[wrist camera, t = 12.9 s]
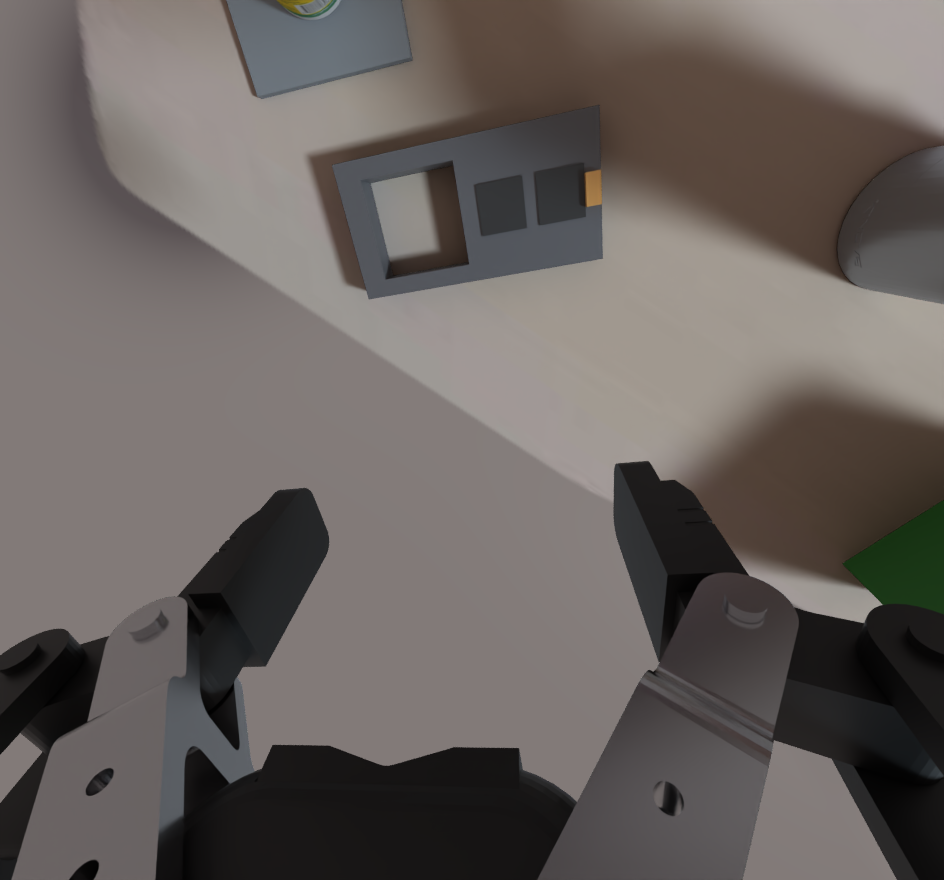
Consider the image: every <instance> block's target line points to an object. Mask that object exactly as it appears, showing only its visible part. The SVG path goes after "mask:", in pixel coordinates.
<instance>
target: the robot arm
mask: <svg viewBox="0 0 944 880" xmlns="http://www.w3.org/2000/svg"><path fill="white" fill-rule="evenodd" d="M837 251H838V259H839V264H840V266H841V268H842V271H843V273H844V274H845V275H846V277H847V278H848V279H849V280H850V281H851V282H853V283H854V284H856V285H857V286H859V287H861V288H865V289H868V290H872V291H878V292H883V293H888V294H894V295H899V296H904V297H909V298H913V299H918V300H924V301H929V302H934V303H940V304H944V146H938V147H933V148H927V149H923V150H920V151H918V152H915V153H912V154H910V155H907V156H905V157H904V158H902V159H900V160H898V161H897V162H895V163H893V164H892V165H890V166H889V167H888V168H886V169H885V170H884V171H882V172H881V173H880V174H879V175H877V176H876V177H875V178H874V179H873V180H872V181H871V182H870V183H869V184H868V185H867V186H866V187H865V188H864V189H863V191H862V192H861V193H860V195H859V196H858V197H857V199H856V200H855V202H854V203H853V204H852V206H851V208H850V210H849V212H848V213H847V215H846V217H845V219H844V221H843V225H842V228H841V231H840V234H839V240H838V248H837ZM614 526H615V531H616V536H617V540H618V543H619V546H620V549H621V552H622V555H623V558H624V561H625V564H626V567H627V570H628V572H629V575H630V578H631V582H632V584H633V587H634V590H635V593H636V596H637V599H638V602H639V605H640V608H641V611H642V614H643V616H644V620H645V623H646V626H647V629H648V631H649V635H650V637H651V641H652V644H653V647H654V650H655V652H656V655H657V658H658V661H659V662H660V663H659V665H658V667H657V668H656V670H655V671H654V672H652V671H651V670H648V671H647V672H646V673H645V674H644V675H643V677H642V678H641V680H640V682H639V683H638V685H637V687H636V689H635V691H634V693H633V695H632V696H631V699H630V701H629V702H628V704H627V706H626V708H625V711H624V712H623V714H622V716H621V718H620V720H619V722H618V724H617V726H616V728H615V730H614V732H613V734H612V736H611V737H610V739H609V741H608V743H607V745H606V747H605V749H604V751H603V753H602V755H601V757H600V759H599V761H598V763H597V765H596V767H595V768H594V770H593V772H592V774H591V776H590V778H589V780H588V782H587V784H586V786H585V788H584V790H583V792H582V794H581V796H580V798H579V800H578V802H576V801H575V800H574V799H573V798H572V797H571V796H570V795H568V794H567V793H566V792H564V791H563V790H561V789H560V788H559V787H557V786H556V785H554V784H553V783H551V782H549V781H547V780H545V779H543V778H541V777H539V776H537V775H535V774H532V773H529V772H527V771H524V770H523V769H522V763H521V757H520V752H519V748H462V747H461V748H460V747H454V748H450V749H447V750H443V751H440V752H437V753H433V754H430V755H426V756H423V757H419V758H416V759H412V760H409V761H405V762H402V763H398V764H395V765H390V766H382V765H379V764H376V763H374V762H371V761H368V760H365V759H363V758H360V757H358V756H355V755H352V754H349V753H347V752H344V751H341V750H339V749H336V748H334V747H331V746H312V745H272V748H271V750H270V752H269V754H268V756H267V759H266V761H265V763H264V766H263V768H262V769H260V770H257V771H254V769H253V765H252V762H251V758H250V749H249V741H248V733H247V724H246V715H245V706H244V698H243V690H242V684H241V682H240V681H239V679H238V678H237V676H238V674H239V673H240V671H241V669H242V668H243V667H261V666H266V665H267V663H268V661H269V659H270V657H271V655H272V654H273V652H274V650H275V648H276V647H277V645H278V643H279V641H280V639H281V637H282V636H283V634H284V632H285V630H286V628H287V626H288V624H289V622H290V621H291V619H292V617H293V615H294V614H295V612H296V610H297V608H298V605H299V604H300V602H301V600H302V599H303V597H304V595H305V593H306V591H307V590H308V588H309V586H310V584H311V582H312V580H313V578H314V577H315V575H316V573H317V571H318V569H319V568H320V566H321V564H322V562H323V560H324V558H325V557H326V554H327V552H328V548H329V536H328V531H327V529H326V526H325V524H324V521H323V519H322V516H321V514H320V511H319V509H318V506H317V504H316V501H315V499H314V497H313V494H312V492H311V491H310V490H309V489H307V488H299V489H287V490H279V491H277V492H275V493H274V494H273V496H272V497H271V498H270V499H269V500H268V501H267V503H266V504H265V505H264V506H263V507H262V508H261V510H260V511H258V512H257V513H255V514H254V515H252V516H251V517H250V518H248V519H247V520H245V521H244V522H243V523H242V524H241V525H240V526H239V527H238V528H237V529H236V531H235V532H234V533H233V534H232V535H231V536H230V540H227V541H226V542H225V543H224V544H223V545H222V547H221V548H220V549H219V552H217V553H215V554H214V555H213V557H212V558H211V559H210V560H209V561H208V562H207V563H206V565H205V566H204V567H203V568H202V569H201V570H200V572H199V573H198V574H197V575H196V576H195V577H194V578H193V580H191V582H190V583H189V584H188V585H187V586H186V587H185V589H184V590H183V591H182V592H181V593H180V594H179V596H177V597H175V596H174V597H166V598H162V599H159V600H156V601H154V602H151V603H149V604H147V605H145V606H143V607H142V608H140V609H138V610H137V611H135V612H134V613H132V614H131V615H130V616H128V617H127V618H126V619H124V620H123V621H122V622H121V623H120V624H119V625H118V626H117V627H116V628H115V629H114V631H113V632H112V633H111V635H110V636H108V637H104V638H101V639H97V640H94V641H91V642H87V643H84V644H81V645H80V644H79V643H78V642H77V641H76V640H75V639H74V638H73V637H72V636H71V635H70V633H69V632H68V631H66V630H64V629H53V630H48V631H44V632H42V633H39V634H36V635H35V636H32V637H30V638H28V639H26V640H24V641H22V642H20V643H18V644H17V645H15V646H13V647H12V648H10V649H9V650H7V651H6V652H4V653H3V654H2V655H0V754H1V753H2V752H3V751H4V750H5V749H6V748H7V747H8V746H9V745H10V743H11V742H12V741H13V740H14V739H15V738H16V737H17V736H18V735H19V733H21V734H22V735H23V736H25V737H26V738H27V739H28V740H29V741H31V742H32V743H33V744H34V745H35V746H37V747H38V748H39V749H40V750H41V751H43V752H42V754H41V755H40V756H39V757H38V758H37V760H36V761H35V762H34V763H33V765H32V766H31V767H30V768H29V769H28V770H27V772H26V773H25V774H24V775H23V776H22V778H21V779H20V780H19V781H18V782H17V784H16V785H15V786H14V787H13V788H12V790H11V791H10V792H9V793H8V795H7V796H6V797H5V798H4V799H3V801H2V802H1V803H0V880H743V876H744V871H745V867H746V862H747V858H748V854H749V850H750V845H751V841H752V837H753V832H754V828H755V824H756V820H757V815H758V811H759V806H760V802H761V798H762V793H763V789H764V785H765V780H766V776H767V772H768V768H769V763H770V759H771V754H772V749H773V741H774V740H775V741H779V742H782V743H785V744H788V745H791V746H795V747H797V748H800V749H803V750H807V751H810V752H813V753H816V754H819V755H822V756H825V757H828V758H831V759H832V760H833V762H834V764H835V766H836V768H837V769H838V771H839V773H840V775H841V777H842V779H843V781H844V782H845V784H846V786H847V788H848V790H849V792H850V794H851V795H852V797H853V799H854V801H855V803H856V805H857V806H858V808H859V810H860V812H861V814H862V816H863V818H864V819H865V821H866V823H867V825H868V827H869V829H870V831H871V832H872V834H873V836H874V838H875V840H876V842H877V844H878V845H879V847H880V849H881V851H882V853H883V855H884V856H885V858H886V860H887V862H888V864H889V866H890V868H891V869H892V871H893V873H894V875H895V877H896V879H897V880H944V614H941V613H938V612H936V611H933V610H930V609H926V608H922V607H918V606H913V605H907V604H886V605H881V606H878V607H876V608H874V609H873V610H872V611H870V612H869V614H868V616H867V618H866V620H865V623H860V622H855V621H850V620H845V619H840V618H835V617H830V616H826V615H821V614H816V613H812V612H808V611H804V610H801V609H798V608H795V607H793V605H792V604H791V602H790V601H789V600H788V599H787V598H786V597H785V596H784V595H783V594H782V593H781V592H780V591H778V590H777V589H775V588H774V587H772V586H771V585H769V584H767V583H765V582H764V581H761V580H759V579H757V578H754V577H751V576H749V575H748V573H747V572H746V570H745V569H744V567H743V566H742V565H741V563H740V562H739V560H738V559H737V557H736V556H735V554H734V553H733V551H732V550H731V548H730V547H729V545H728V544H727V542H726V541H725V539H724V538H723V536H722V535H721V533H720V532H719V530H718V529H717V527H716V526H715V524H712V520H711V518H710V517H709V516H708V514H707V513H706V511H704V510H703V507H702V505H701V504H700V502H699V501H698V499H697V498H696V496H695V495H694V493H693V492H692V491H690V490H689V489H687V488H686V487H684V486H683V485H681V484H680V483H678V482H677V481H676V480H667V481H660V479H659V477H658V476H657V474H656V472H655V470H654V469H653V467H652V465H651V464H650V462H649V461H642V462H630V463H618V464H616V465H615V469H614Z"/></svg>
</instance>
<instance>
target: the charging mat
mask: <svg viewBox="0 0 944 880" xmlns="http://www.w3.org/2000/svg"><path fill="white" fill-rule="evenodd" d="M226 1H227V4H228V7H229V10H230V13H231V16H232V19H233V22H234V26H235V29H236V32H237V35H238V38H239V41H240V44H241V47H242V50H243V53H244V56H245V59H246V63H247V66H248V69H249V72H250V75H251V78H252V81H253V84H254V87H255V90H256V93H257V96H258V97H259V98H261V99H264V98H267V97H271V96H275V95H279V94H283V93H287V92H291V91H295V90H299V89H303V88H307V87H311V86H314V85H318V84H322V83H326V82H330V81H334V80H338V79H342V78H346V77H350V76H354V75H357V74H361V73H365V72H369V71H373V70H377V69H381V68H385V67H389V66H393V65H397V64H401V63H404V62H408V61H412V54H411V49H410V43H409V38H408V32H407V27H406V21H405V16H404V10H403V5H402V0H341V1H340V3H339V5H338V6H337V7H336V9H335V10H334V11H333V12H332V13H331V14H329V15H328V16H326V17H324V18H322V19H318V20H305V19H302V18H299V17H297V16H295V15H293V14H292V13H290V12H289V11H287V10H286V9H285V8H284V7H283V6H282V5H281V4H280V3H279V2H278V1H277V0H226Z"/></svg>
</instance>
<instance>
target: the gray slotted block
mask: <svg viewBox="0 0 944 880" xmlns="http://www.w3.org/2000/svg"><path fill="white" fill-rule="evenodd" d="M452 165H453V166H454V172H455V178H456V185H457V191H458V197H459V203H460V209H461V216H462V222H463V228H464V234H465V241H466V247H467V253H468V259H469V262H467V263H461V264H456V265H450V266H445V267H439V268H434V269H428V270H423V271H417V272H412V273H406V274H400V275H395V276H393V274H392V270H391V266H390V261H389V257H388V253H387V249H386V245H385V241H384V237H383V233H382V228H381V224H380V220H379V216H378V212H377V208H376V204H375V200H374V196H373V191H372V187H371V183H373V182H378V181H382V180H387V179H392V178H396V177H401V176H406V175H410V174H415V173H420V172H424V171H429V170H433V169H438V168H443V167H447V166H452ZM332 167H333V171H334V175H335V178H336V182H337V185H338V189H339V193H340V196H341V200H342V204H343V207H344V211H345V215H346V218H347V222H348V225H349V229H350V233H351V236H352V240H353V244H354V247H355V251H356V254H357V258H358V262H359V265H360V269H361V273H362V276H363V280H364V284H365V287H366V291H367V294H368V298H369V299H374V298H379V297H385V296H391V295H397V294H402V293H408V292H414V291H420V290H425V289H431V288H437V287H443V286H448V285H454V284H460V283H466V282H471V281H477V280H483V279H489V278H494V277H500V276H506V275H511V274H517V273H523V272H529V271H534V270H540V269H546V268H552V267H557V266H563V265H569V264H575V263H580V262H586V261H592V260H598V259H603V250H602V186H601V156H600V109H599V105H596V106H592V107H587V108H583V109H578V110H574V111H570V112H565V113H561V114H556V115H552V116H547V117H543V118H538V119H534V120H530V121H525V122H521V123H516V124H512V125H507V126H503V127H498V128H494V129H490V130H485V131H481V132H476V133H472V134H467V135H463V136H459V137H454V138H450V139H445V140H441V141H436V142H432V143H427V144H423V145H419V146H414V147H410V148H405V149H401V150H396V151H392V152H387V153H383V154H379V155H374V156H370V157H365V158H361V159H356V160H352V161H347V162H343V163H339V164H334V165H332Z"/></svg>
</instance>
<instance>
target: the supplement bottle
mask: <svg viewBox="0 0 944 880" xmlns="http://www.w3.org/2000/svg"><path fill="white" fill-rule="evenodd" d="M277 1H278V2H279V3H280V4H281V5H282V6H283V7H284V8H285V9H286V10H287V11H289V12H290V13H292V14H293V15H295V16H297V17H299V18H302V19H305V20H318V19H322V18H324V17H326V16H328V15H329V14H331V13H332V12H333V11H334V10H335V9H336V7H337V6H338V5H339V3H340V1H341V0H277Z"/></svg>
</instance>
